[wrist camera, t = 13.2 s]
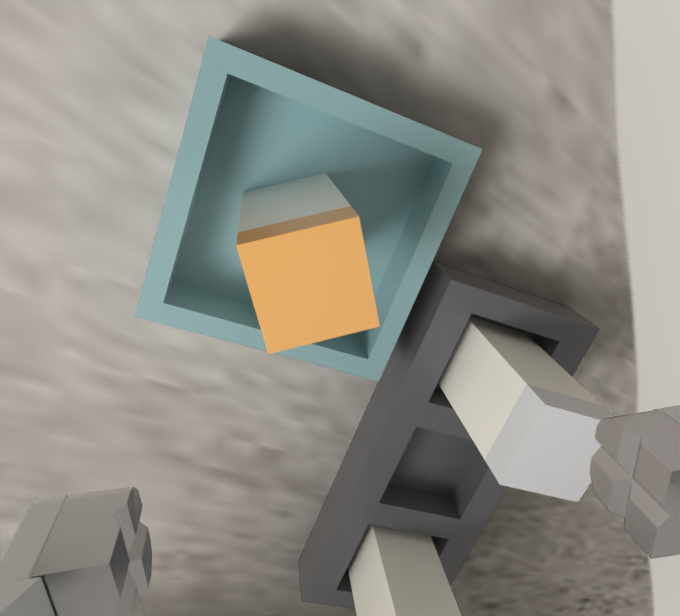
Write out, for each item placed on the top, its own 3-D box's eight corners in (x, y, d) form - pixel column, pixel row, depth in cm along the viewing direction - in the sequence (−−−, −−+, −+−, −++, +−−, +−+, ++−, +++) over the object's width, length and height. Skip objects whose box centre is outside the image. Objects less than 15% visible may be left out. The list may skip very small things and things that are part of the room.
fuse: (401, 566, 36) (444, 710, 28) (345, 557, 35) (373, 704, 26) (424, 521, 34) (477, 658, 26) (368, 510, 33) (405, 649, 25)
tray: (366, 349, 30) (378, 381, 27) (149, 289, 27) (134, 316, 24) (455, 141, 26) (482, 149, 23) (215, 42, 23) (208, 36, 20)
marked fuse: (342, 252, 27) (379, 326, 19) (264, 270, 27) (268, 354, 18) (325, 173, 25) (359, 216, 17) (242, 192, 25) (236, 245, 17)
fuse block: (418, 580, 38) (430, 619, 35) (298, 561, 36) (301, 601, 33) (569, 307, 31) (599, 329, 28) (432, 260, 29) (451, 279, 26)
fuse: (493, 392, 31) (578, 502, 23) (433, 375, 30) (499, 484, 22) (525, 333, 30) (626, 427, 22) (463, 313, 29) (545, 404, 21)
